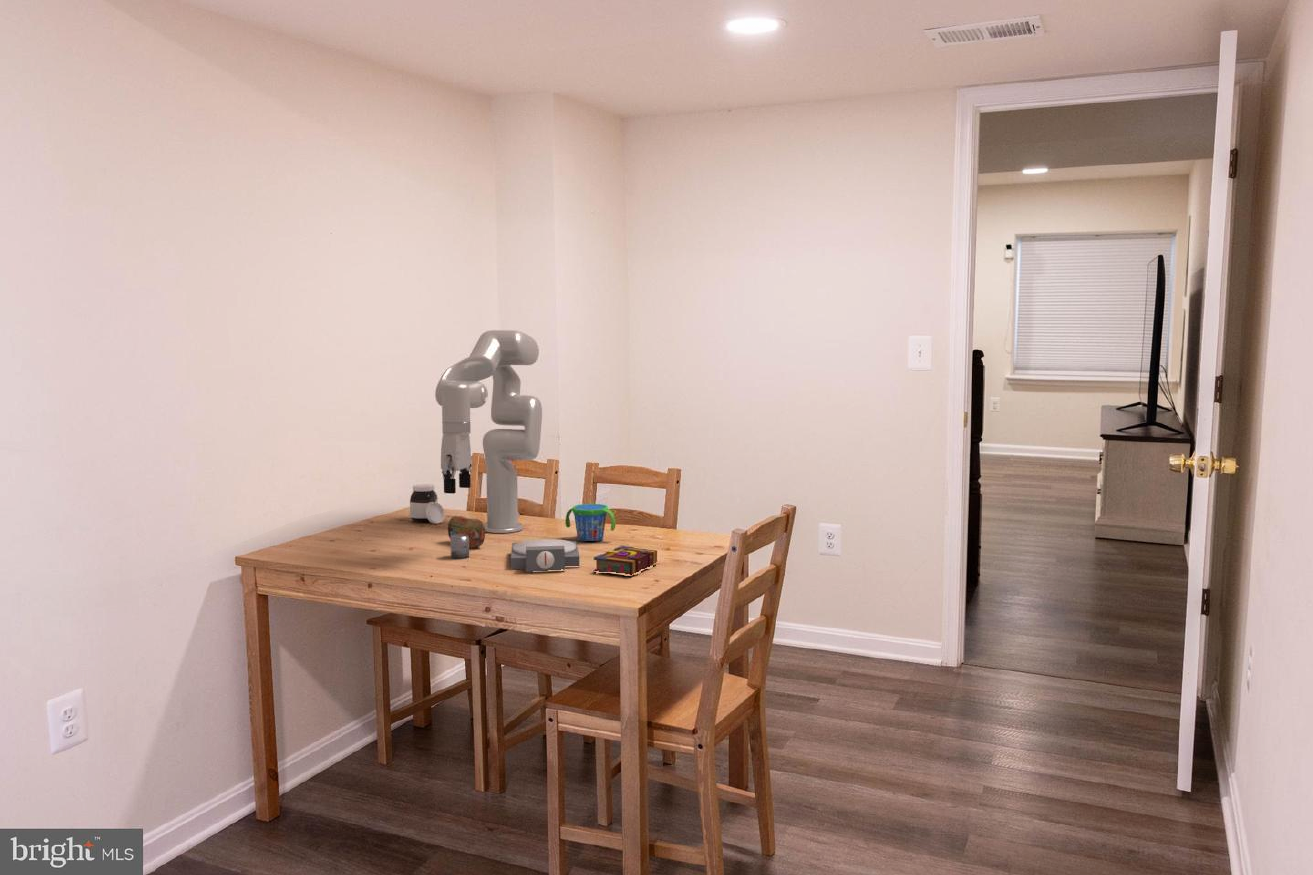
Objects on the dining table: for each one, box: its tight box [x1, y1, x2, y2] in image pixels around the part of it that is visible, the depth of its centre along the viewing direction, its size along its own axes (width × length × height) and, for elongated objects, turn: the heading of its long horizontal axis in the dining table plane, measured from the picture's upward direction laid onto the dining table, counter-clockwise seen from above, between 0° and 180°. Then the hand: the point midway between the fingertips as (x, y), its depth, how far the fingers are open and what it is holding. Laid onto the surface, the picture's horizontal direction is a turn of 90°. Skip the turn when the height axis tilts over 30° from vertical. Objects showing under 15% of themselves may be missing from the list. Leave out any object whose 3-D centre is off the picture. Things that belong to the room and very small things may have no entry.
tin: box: [447, 515, 486, 549], centre depth 287 cm, size 15×3×8 cm, turn 47°
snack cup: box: [564, 503, 617, 542], centre depth 294 cm, size 16×10×10 cm
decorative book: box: [593, 545, 658, 575], centre depth 260 cm, size 11×16×5 cm
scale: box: [510, 538, 580, 572], centre depth 267 cm, size 22×18×6 cm
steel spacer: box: [449, 534, 470, 560], centre depth 273 cm, size 5×5×6 cm
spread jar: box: [409, 483, 446, 525], centre depth 320 cm, size 12×11×12 cm
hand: (457, 490), depth 271 cm, fingers open, 9 cm apart
